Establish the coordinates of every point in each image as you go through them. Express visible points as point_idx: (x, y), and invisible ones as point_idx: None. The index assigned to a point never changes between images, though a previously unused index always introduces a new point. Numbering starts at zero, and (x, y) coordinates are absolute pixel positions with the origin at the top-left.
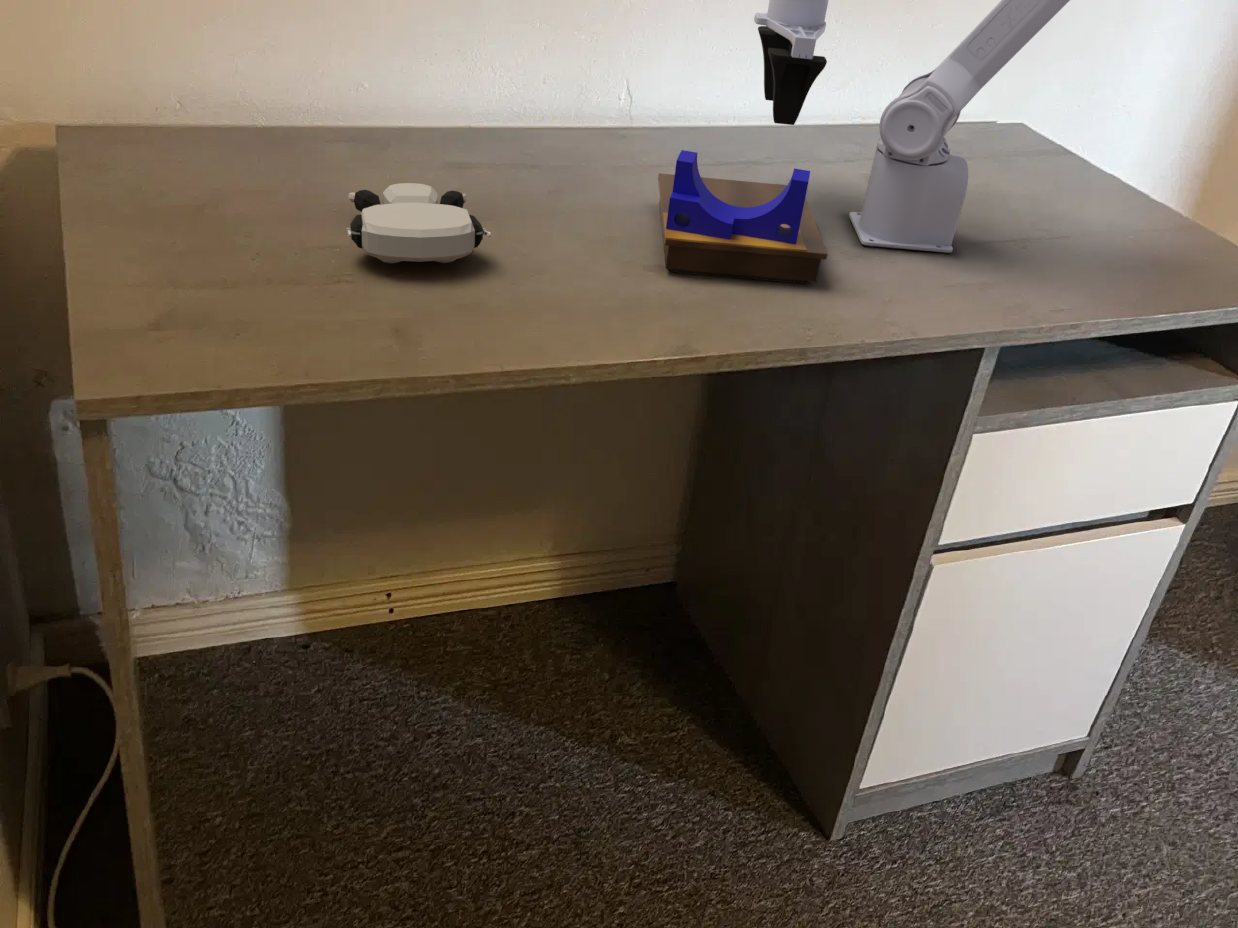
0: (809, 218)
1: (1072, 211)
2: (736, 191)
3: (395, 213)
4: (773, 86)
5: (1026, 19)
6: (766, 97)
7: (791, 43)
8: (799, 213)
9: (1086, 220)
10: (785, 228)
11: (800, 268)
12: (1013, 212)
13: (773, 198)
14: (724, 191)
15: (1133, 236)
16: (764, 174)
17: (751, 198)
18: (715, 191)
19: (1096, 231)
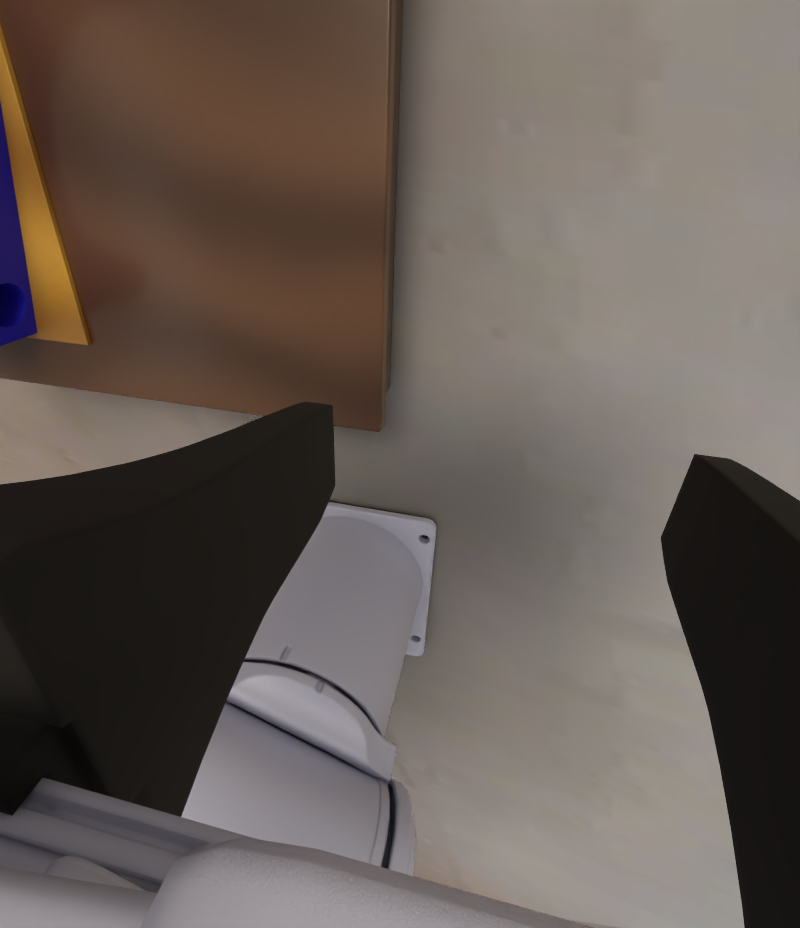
0: (155, 389)
1: (517, 836)
2: (277, 199)
3: None
4: (712, 528)
5: None
6: (700, 463)
7: (213, 831)
8: None
9: (481, 832)
10: (22, 300)
11: None
12: (503, 774)
13: (257, 322)
14: (264, 148)
15: (429, 844)
16: (760, 391)
17: (233, 246)
18: (254, 106)
19: (440, 821)
